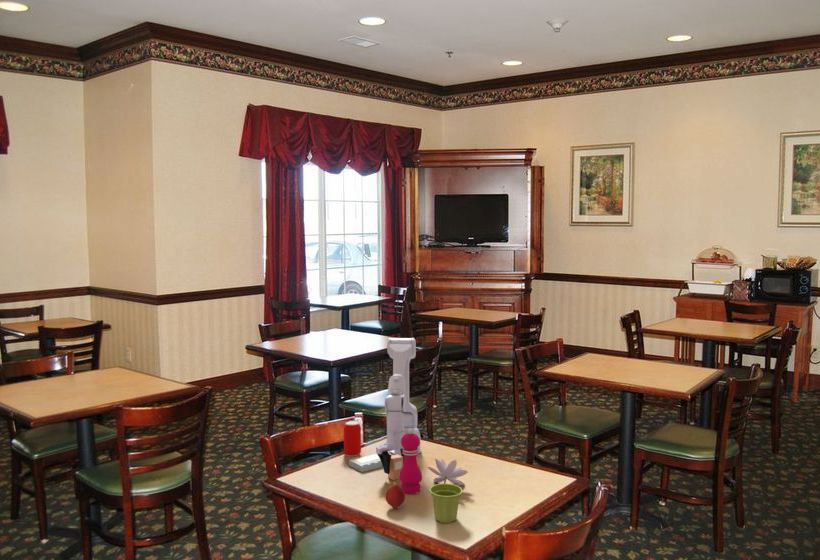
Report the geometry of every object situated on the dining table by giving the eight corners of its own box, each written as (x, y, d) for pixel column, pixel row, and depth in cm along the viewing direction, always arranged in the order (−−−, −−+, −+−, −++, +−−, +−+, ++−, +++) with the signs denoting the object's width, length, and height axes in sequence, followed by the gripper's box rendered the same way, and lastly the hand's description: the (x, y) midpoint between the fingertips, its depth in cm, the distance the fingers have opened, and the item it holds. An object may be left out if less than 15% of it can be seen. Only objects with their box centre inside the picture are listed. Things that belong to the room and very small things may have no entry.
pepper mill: (422, 486, 223) (422, 425, 222) (421, 495, 216) (420, 432, 214) (400, 485, 224) (400, 425, 222) (398, 494, 217) (397, 431, 215)
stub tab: (397, 474, 234) (397, 454, 233) (403, 477, 231) (403, 456, 231) (388, 477, 231) (387, 456, 231) (393, 480, 229) (393, 459, 228)
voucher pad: (377, 458, 250) (377, 452, 250) (390, 464, 244) (390, 458, 243) (349, 465, 243) (349, 459, 242) (362, 472, 236) (362, 466, 236)
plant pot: (460, 511, 204) (460, 483, 203) (464, 525, 194) (464, 495, 194) (428, 512, 203) (428, 483, 203) (430, 526, 194) (430, 496, 193)
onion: (394, 502, 210) (394, 477, 210) (408, 507, 207) (408, 481, 206) (381, 508, 206) (381, 482, 205) (396, 514, 202) (396, 487, 202)
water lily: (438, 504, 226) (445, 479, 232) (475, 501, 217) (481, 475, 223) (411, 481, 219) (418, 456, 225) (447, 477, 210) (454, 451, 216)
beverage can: (341, 453, 256) (341, 421, 255) (357, 451, 258) (357, 419, 257) (347, 458, 250) (346, 426, 249) (363, 456, 253) (363, 423, 252)
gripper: (384, 437, 222) (385, 478, 224) (420, 429, 231) (420, 468, 232) (372, 432, 228) (372, 472, 229) (407, 424, 237) (407, 463, 238)
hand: (395, 470), depth 231 cm, fingers open, 7 cm apart
